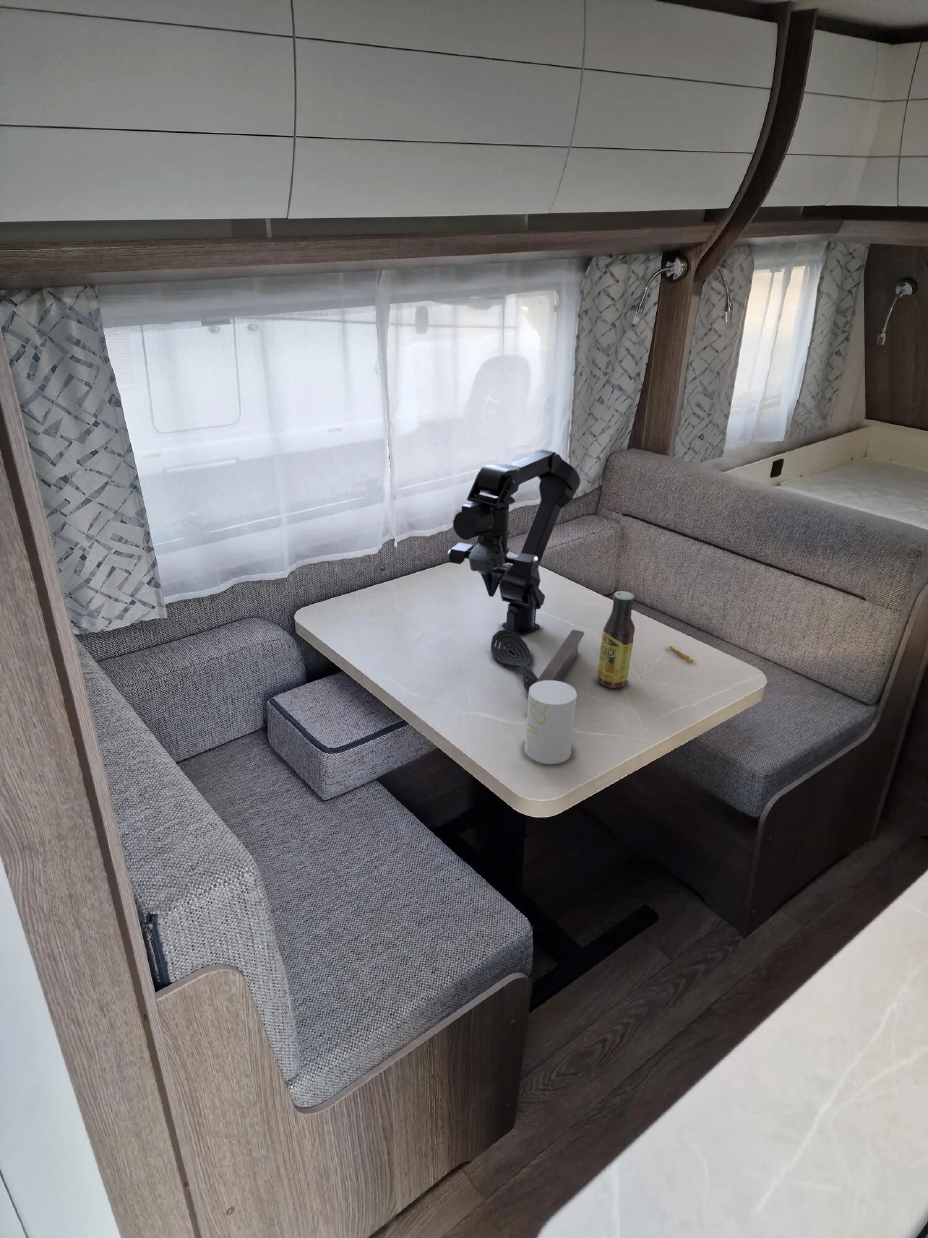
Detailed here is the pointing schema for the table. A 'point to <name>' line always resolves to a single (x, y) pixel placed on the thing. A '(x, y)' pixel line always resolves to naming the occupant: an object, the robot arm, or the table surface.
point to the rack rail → (562, 658)
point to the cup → (550, 721)
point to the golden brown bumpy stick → (681, 654)
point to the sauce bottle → (617, 642)
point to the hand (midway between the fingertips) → (491, 596)
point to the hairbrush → (513, 654)
